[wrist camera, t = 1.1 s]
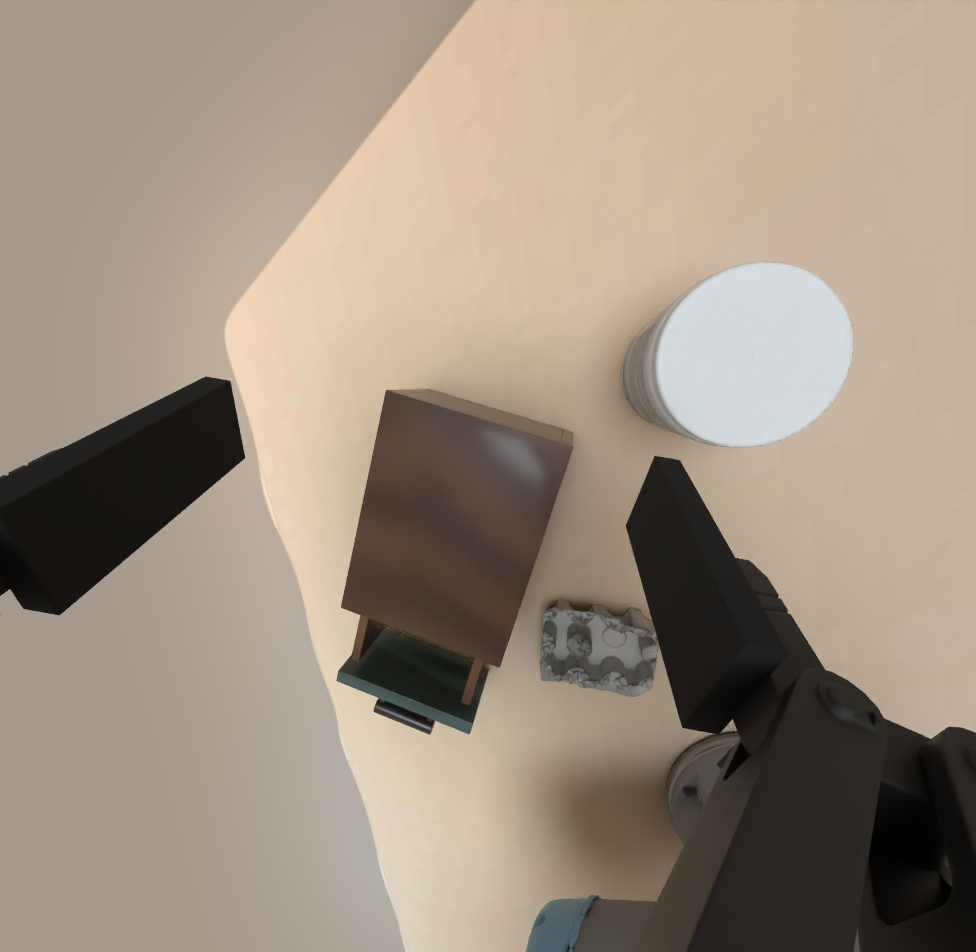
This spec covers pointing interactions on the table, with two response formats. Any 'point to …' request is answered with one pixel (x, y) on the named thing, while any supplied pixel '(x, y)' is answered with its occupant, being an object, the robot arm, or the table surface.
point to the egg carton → (599, 649)
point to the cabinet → (453, 519)
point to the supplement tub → (742, 357)
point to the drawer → (413, 679)
